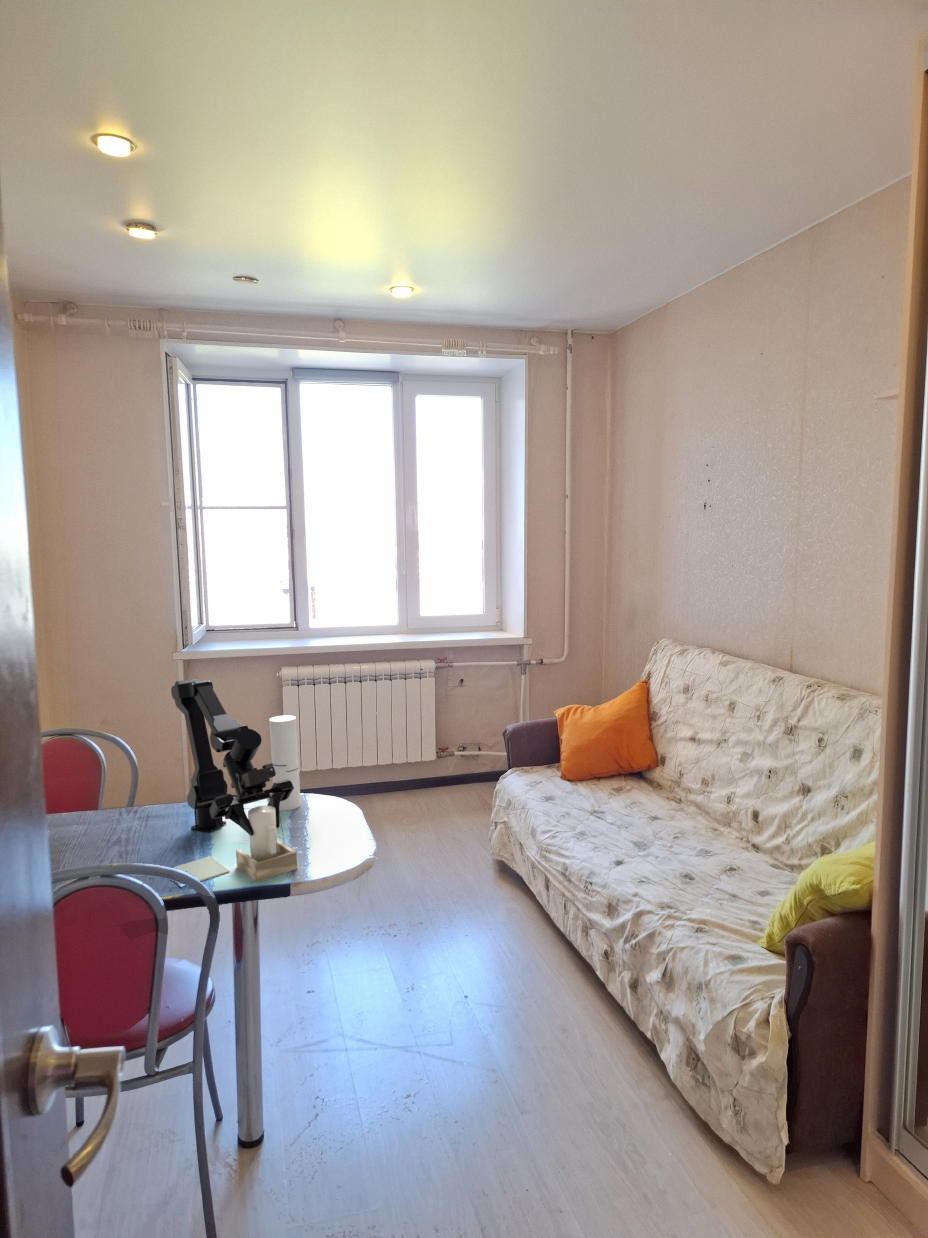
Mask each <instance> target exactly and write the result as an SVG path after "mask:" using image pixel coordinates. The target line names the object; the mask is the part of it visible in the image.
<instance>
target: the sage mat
mask: <svg viewBox="0 0 928 1238" xmlns="http://www.w3.org/2000/svg"><path fill="white" fill-rule="evenodd" d="M173 867H174V868H177V869H180V870H184V871H187V872H188V873H191V874H192V875H194V876H195V877H197V878H198V879H199V880H201V881H200V882H203V881H206V880H210V879H212V878H215V877H218V876H221V875H225V874H229V873H230V871H231V870H229V869H228V868H227V867H225V866H224V865H223V864H222V863H220V862H219V861H218V860H216V859H215V858H214V857H212V856H211V855H209V856H207V857H202V858H200V859H196V860H193V861H189V862H185V863H182V864H179V865H176V866H173Z"/></svg>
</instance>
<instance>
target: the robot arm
mask: <svg viewBox="0 0 928 1238" xmlns="http://www.w3.org/2000/svg"><path fill="white" fill-rule="evenodd" d="M170 692H171V693H170V694H171V697H172V699H173V700H174V703H175V707H176V708H177V709H178V710H179V711H180V712H181V713H182V714H183V715H184V719H185V724H186V729H187V734H188V740H189V744H190V750H191V754H192V759H193V766H194V771H193V774H192V776H191V778H190V779H191V780H190V786H191V787H190V789H189V790H188V791H189V792H188V793H187V796H186V800H187V801H186V802H187V804H188V805H187V806H188V807H190V808H191V809H193V810H194V811H193V812H194V813H193V814H194V825H192V826H190V830H195V831H200V832H207V833H210V832H212V831H215V830H216V829H218V828H220V827H223V826H224V825H226V824H227V821H225V820H228V819H229V820H230V821H232V822H233V823H234V824H236V825H238V826H239V827H240V828H241V829H242V830H243V831H244V832H245V833H247V834H248V835H250V836H252V835H253V830H252V827H251V824H250V822H249V820H248V815H247V814H246V812H245V805H248V804H251V803H255V802H258V801H262V800H267V804H266V806H272V807H274V808H275V812H276V829H279V828H280V826H281V825H280V824H281V822H280V821H281V820H280V810H279V804H280V801H284V800H286V799H288V797H289V796H290V794H291V792H292V791H293V789H294V786H293V784H292V782H291V781H290V780H288V779H286V780H282V781H278V782H274V784H273V783H272V787H271V788H269V789H266V790H264V788H266V786H267V782H268V783H269V782H271V778H272V779H273V777H274V776H275V775H276V772H275V769H274V767H273V765H272V762H269V763H266V764H265V763H264V764H263V765H262V768H259V769H258V767H254V765H253V762H252V760H254V758H255V757H256V754H257V752H258V750H259V748H260V746H261V744H262V736H261V734H259V732H258V731H256V730H254V729H251V728H249V727H248V724H246V725H245V724H244V725H240V723H239V721H238V720H236V719H234V718H232V717H230V716H229V715H228V713H227V712H226V710H225V708H224V707H223V705H222V703H221V701H220V699H219V698H218V696H217V694H216V691H215V690H214V686H213V682H212V680H210V679H202V678H200V677H198V678H191V679H184V680H182V679H181V680H177V681H175V682H174V685H172V686H171V689H170ZM206 722H207V723H206ZM207 724H208V726H209V728H210V734H209V733H208V728H207ZM211 748H212V749H213V750H214V751H215V752H216V753H224V752H227V753H226V754H225V755H224V757H223V760H222V767H223V768H226V770H227V774H228V776H229V779H230V782H231V783H230V787H231V789H234V791H235V793H236V796H235V797H234V796H233V794H231V793H228V784H227V782H226V779H225V776H224V772H223V770H222V769H221V768H218V767H217V766H216V765H215V763H214V758H213V753H212V749H211ZM223 817H224V819H225V820H223Z"/></svg>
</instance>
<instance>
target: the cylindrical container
mask: <svg viewBox="0 0 928 1238" xmlns="http://www.w3.org/2000/svg"><path fill="white" fill-rule="evenodd" d="M268 720H269V735H270V737H269V738H270V739H269V740H270V752H271V753H270V754H271V763H272V765H273V767H274V769H275V772H276V775H275V776H274V777H272V785H273V784H274V782H278V781H282V780H286V779H288V780H290V781H291V782H292V784H293V786H294V789H293V791H292V792H291V794H290V796H289V797H288V799H286V800H284V801H280V804H279V811H292V810H295V809H298V808H300V807H301V806H302V805H301V803H302V802H301V788H300V785H301V784H300V767H299V752H298V750H299V748H298V730H297V717H296V716H295V715H290V714H289V715H287V714H285V715H277V716H273V717H271V718H269V719H268Z"/></svg>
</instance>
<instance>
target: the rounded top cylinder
mask: <svg viewBox="0 0 928 1238" xmlns="http://www.w3.org/2000/svg"><path fill="white" fill-rule="evenodd" d="M247 818H248V820H249V822H250V824H251V827H252V830H253V835H252V836H250V835H249V834H248V835H249V836H248V837H249V850H250V851H249V852H250V853H249V854H250V857H251V858H253V859H254V860H256V861H257V862H261V861H264V860H268V859H271V858H274V857H277V856H278V848H277V840H278V834H277V833H278V832H277V827H276V812H275V808H274V807H272V806H267V805H261V806H259V805H258V806H256V807H252V808H250V809H249V810H248V811H247Z"/></svg>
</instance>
